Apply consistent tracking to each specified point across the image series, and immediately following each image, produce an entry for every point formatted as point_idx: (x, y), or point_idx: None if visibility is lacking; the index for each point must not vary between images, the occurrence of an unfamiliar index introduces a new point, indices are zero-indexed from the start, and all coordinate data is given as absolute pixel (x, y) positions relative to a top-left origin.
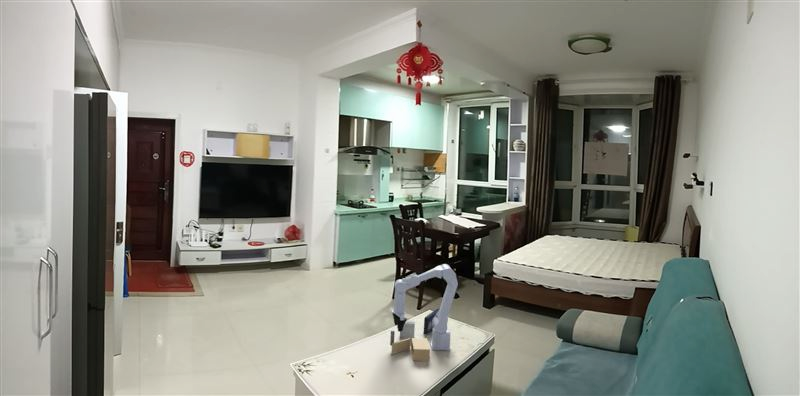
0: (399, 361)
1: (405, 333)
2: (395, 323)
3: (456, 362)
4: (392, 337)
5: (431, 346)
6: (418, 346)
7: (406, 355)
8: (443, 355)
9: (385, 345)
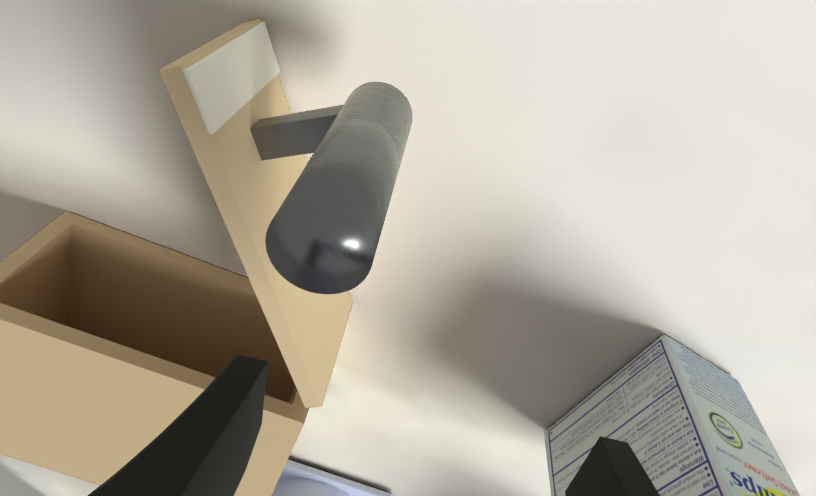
0: (51, 43)
1: (622, 426)
2: (606, 484)
3: (39, 478)
4: (305, 166)
5: (308, 473)
6: (36, 382)
7: (201, 200)
8: None
9: (571, 57)
